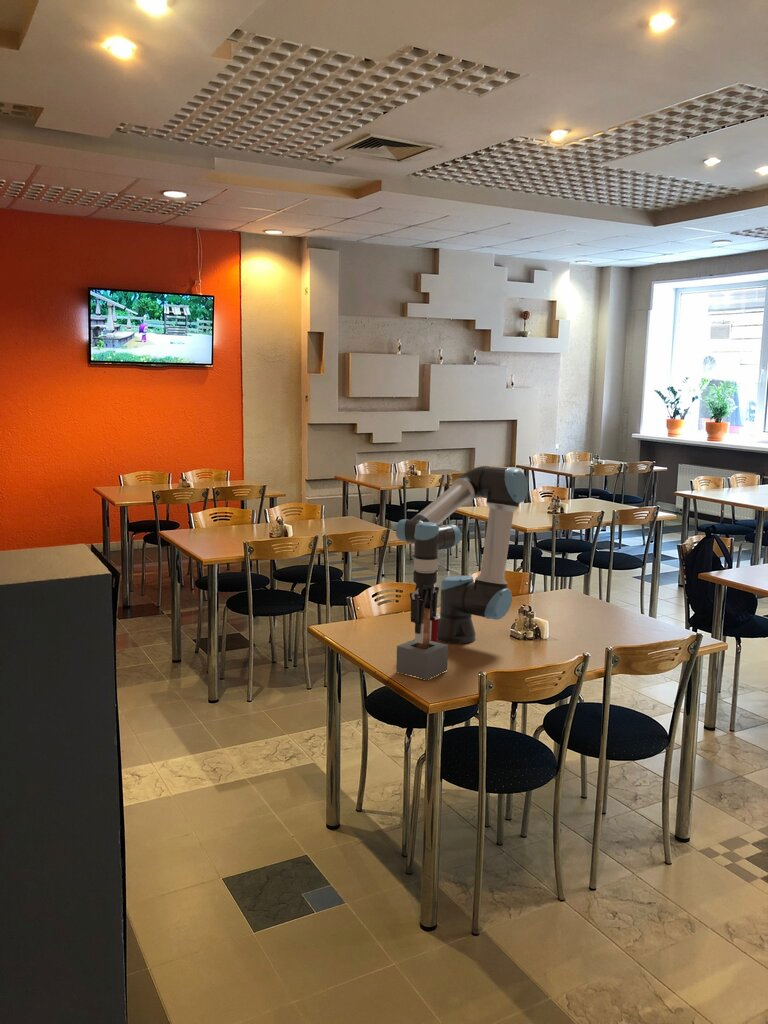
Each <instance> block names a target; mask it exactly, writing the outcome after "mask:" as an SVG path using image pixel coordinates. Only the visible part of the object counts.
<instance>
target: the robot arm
mask: <svg viewBox="0 0 768 1024" xmlns="http://www.w3.org/2000/svg"><path fill="white" fill-rule="evenodd" d="M528 485H529V484H528V479H527V477H526V475H525V473H524V472H523V471H521V470H520V469H515V468H511V467H500V466H490V465H481V466H480V465H479V466H477V467H474V468H471V469H470V470H467V471H466V472H464V473H462V474H460V475H459V476H458V477H457V478H456V479H454V480H453V482H452V484H451V486H450V487H449V488H447V489H446V490H445V491H444V492H443V493H442V494H440V495H439V496H438V497H437V498H436V499H434V500H433V501H432V502H431V503H429V504H428V505H426V507H424V508H423V509H422V510H421V511H420V512H418V513H417V514H415V516H413V518H411V519H408V518H405V519H404V518H403V519H400V520H398V522H397V524H396V526H395V535H396V537H397V539H398V540H399V541H402V542H405V543H410V544H414V554H413V557H414V558H413V570H414V571H413V574H412V575H413V578H412V579H413V582H414V583H415V585H416V586H415V588H414V592H410V593H409V597H410V623H413V624H414V639H415V642H417V643H421V644H422V643H423V629H424V624H423V623H422V620H423V613H424V608H429V609H430V633H429V640H431V628H432V620H435V618H433V617H436V613H437V612H438V611H437V610H438V609H437V608H438V597H439V595H438V594H439V592H440V604H439V605H440V608H439V610H440V612H439V616H440V618H439V624H438V635H437V639H438V640H437V641H439V640H441V641H440V642H442V641H445V642H444V643H446V642H450V643H449V644H455V643H461V644H469V643H472V642H474V641H475V640H476V636H477V635H476V633H477V632H476V630H475V626H474V622H473V619H472V615H473V616H476V617H481V618H485V619H488V620H495V621H496V620H497V621H498V620H501V619H502V618H504V617H505V616H506V615H507V614H508V612H509V610H510V608H511V605H512V601H513V595H512V594H513V593H512V591H511V590H510V589H509V588H508V582H507V581H506V579H505V575H506V568H507V561H508V559H507V558H508V554H509V553H508V552H509V546H510V538H511V532H512V527H513V526H512V525H513V518H514V513H515V511H516V510H518V509H519V505H520V504H521V503H523V502H525V500H526V498H527V496H528V492H529V491H528V489H529V486H528ZM477 498H478V499H479V498H483V499H486V505H487V506H488V508H489V513H488V519H487V525H486V532H485V539H484V546H483V555H482V559H481V565H480V573H479V575H477V576H476V577H475V579H474V578H473V577H472V576H471V575H453V576H448V577H444V578H443V579H442V581H441V584H440V585H441V586H440V587H438V586H435V584H437V579H438V578H437V577H438V572H437V570H438V553H439V551H440V550H445V549H450V548H451V549H452V548H453V547H456V546H458V545H459V543H460V542H461V540H462V533H461V529H460V528H459V527H458V525H455V524H452V523H450V524H449V523H446V524H441V523H442V522H444V521H445V520H446V519H447V518H449V517H450V516H451V515H452V514H453V513H455V512H456V510H458V509H459V508H461V506H463V505H464V504H465V503H469V502H472V501H473V500H474V499H477ZM439 590H440V591H439ZM468 642H469V643H468Z"/></svg>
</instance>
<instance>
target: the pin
mask: <svg viewBox="0 0 768 1024" xmlns="http://www.w3.org/2000/svg"><path fill="white" fill-rule="evenodd" d="M422 623H423V624H424V629H423V643H422V644H421V643H417V648H421V649H425V650H426V649H428V648H429V633H430V609H429V608H424V613H423V620H422Z"/></svg>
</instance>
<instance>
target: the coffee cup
mask: <svg viewBox="0 0 768 1024" xmlns="http://www.w3.org/2000/svg"><path fill="white" fill-rule="evenodd" d="M433 618H435V620H432V628H431V640H430V641H434V642H438V640H437V635H438V624H439V618H440V613H439V612H438V611H437V613H436V617H433Z"/></svg>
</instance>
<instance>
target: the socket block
mask: <svg viewBox="0 0 768 1024" xmlns="http://www.w3.org/2000/svg"><path fill="white" fill-rule="evenodd" d="M448 663H449V644H447V643H442V642H438V641H437V642H434V641H430V640H429V648H428V649H426V650H425V649H421V648H417V642H415V638H414V639H412V640H411V639H410V640H407V642H404V643H401V644H399V645H397V646H396V665H395V666H396V672H399V673H403V674H407V675H412V676H416V677H419V678H422V679H425V680H428V679H430V678H431V677H434V676H436V675H438V674H440V673H442V672H444V671H446V670H447V671H448V666H449V665H448ZM396 672H395V673H396ZM399 673H398V674H399ZM403 674H402V675H403ZM407 675H406V676H407ZM434 678H435V677H434ZM430 680H431V679H430ZM428 681H429V680H428Z"/></svg>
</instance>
